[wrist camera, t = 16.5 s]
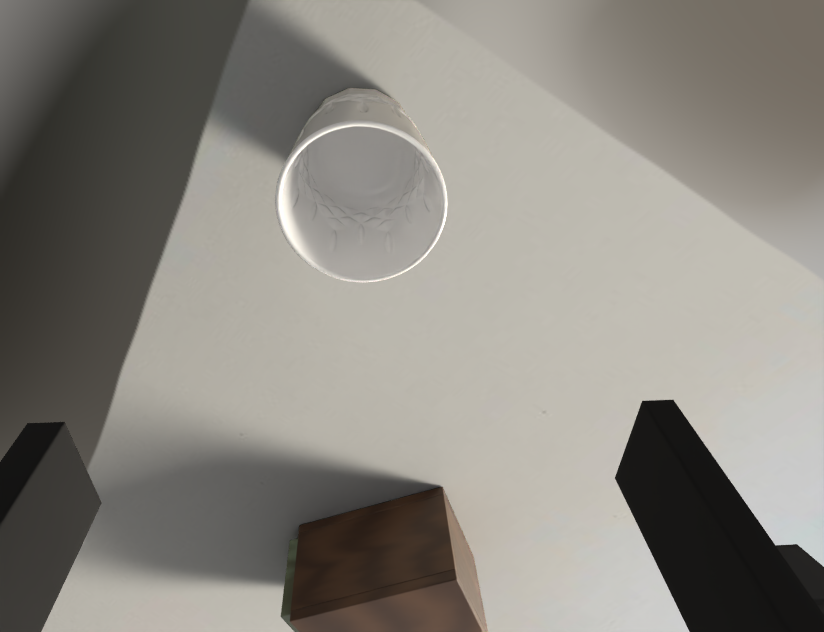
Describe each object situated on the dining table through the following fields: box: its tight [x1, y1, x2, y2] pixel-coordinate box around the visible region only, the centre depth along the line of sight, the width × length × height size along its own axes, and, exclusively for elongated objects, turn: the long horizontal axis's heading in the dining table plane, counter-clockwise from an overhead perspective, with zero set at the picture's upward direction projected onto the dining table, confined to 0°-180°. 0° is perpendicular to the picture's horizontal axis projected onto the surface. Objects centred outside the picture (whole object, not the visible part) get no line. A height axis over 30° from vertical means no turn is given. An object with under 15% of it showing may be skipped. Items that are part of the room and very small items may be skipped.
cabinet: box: [290, 487, 488, 632], centre depth 52 cm, size 15×13×9 cm
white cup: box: [275, 88, 447, 282], centre depth 29 cm, size 8×8×10 cm
